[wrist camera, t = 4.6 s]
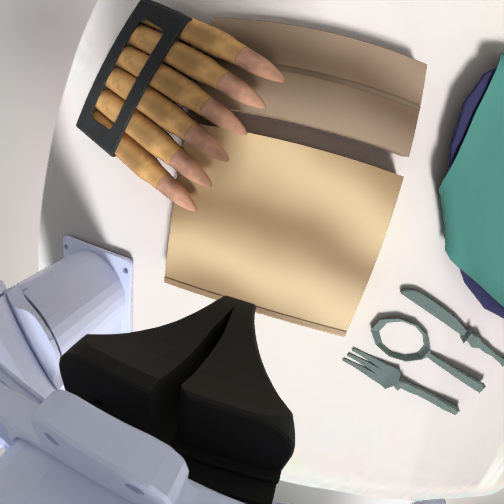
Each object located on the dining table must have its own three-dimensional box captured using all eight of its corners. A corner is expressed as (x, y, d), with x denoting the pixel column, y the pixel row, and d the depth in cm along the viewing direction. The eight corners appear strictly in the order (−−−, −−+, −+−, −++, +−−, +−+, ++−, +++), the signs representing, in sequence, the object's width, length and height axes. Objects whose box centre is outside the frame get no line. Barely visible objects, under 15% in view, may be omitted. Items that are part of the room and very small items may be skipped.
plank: (343, 324, 20) (344, 337, 19) (173, 274, 22) (164, 282, 21) (397, 174, 16) (403, 176, 15) (196, 123, 18) (186, 122, 17)
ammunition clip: (142, -4, 13) (290, 62, 12) (159, 5, 15) (299, 72, 14) (75, 126, 18) (180, 226, 17) (93, 126, 20) (196, 219, 19)
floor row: (401, 155, 16) (409, 156, 14) (201, 106, 18) (191, 102, 16) (419, 70, 14) (427, 64, 12) (221, 26, 15) (213, 17, 14)
